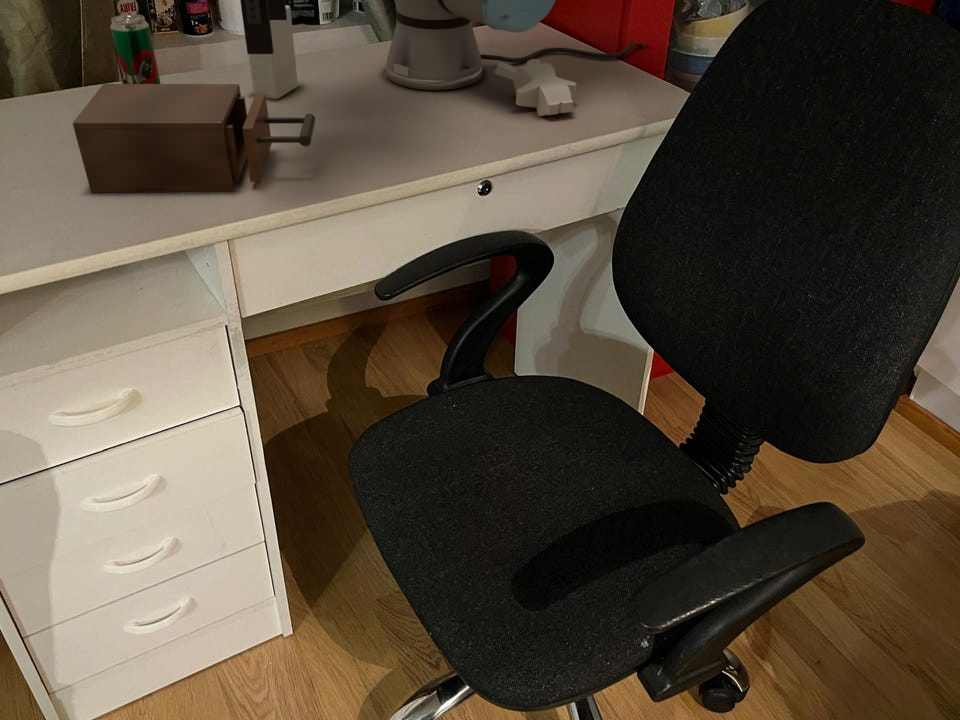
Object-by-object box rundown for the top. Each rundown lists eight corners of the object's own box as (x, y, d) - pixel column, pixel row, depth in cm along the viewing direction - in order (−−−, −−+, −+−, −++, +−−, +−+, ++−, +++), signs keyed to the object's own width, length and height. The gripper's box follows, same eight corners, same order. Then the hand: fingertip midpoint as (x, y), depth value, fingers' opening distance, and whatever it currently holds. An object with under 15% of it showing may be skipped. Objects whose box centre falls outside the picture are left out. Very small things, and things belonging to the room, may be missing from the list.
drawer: (319, 143, 113) (315, 92, 109) (312, 182, 104) (307, 128, 100) (150, 144, 111) (139, 92, 107) (127, 183, 102) (114, 128, 98)
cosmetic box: (274, 83, 133) (265, 1, 125) (300, 88, 131) (291, 5, 124) (252, 96, 128) (240, 11, 121) (277, 101, 127) (267, 15, 120)
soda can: (169, 99, 126) (153, 14, 119) (156, 112, 122) (138, 24, 115) (136, 97, 127) (117, 12, 119) (121, 109, 123) (101, 22, 115)
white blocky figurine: (533, 96, 120) (489, 51, 129) (529, 130, 123) (486, 83, 133) (592, 88, 123) (545, 45, 133) (586, 121, 126) (541, 76, 136)
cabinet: (248, 148, 113) (239, 83, 108) (233, 191, 103) (222, 122, 98) (119, 149, 112) (103, 83, 107) (91, 192, 102) (72, 122, 97)
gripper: (224, -199, 95) (250, 5, 108) (177, -175, 76) (215, 70, 89) (293, -197, 96) (311, 6, 109) (263, -173, 76) (289, 71, 89)
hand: (268, 35), depth 99 cm, fingers open, 12 cm apart
